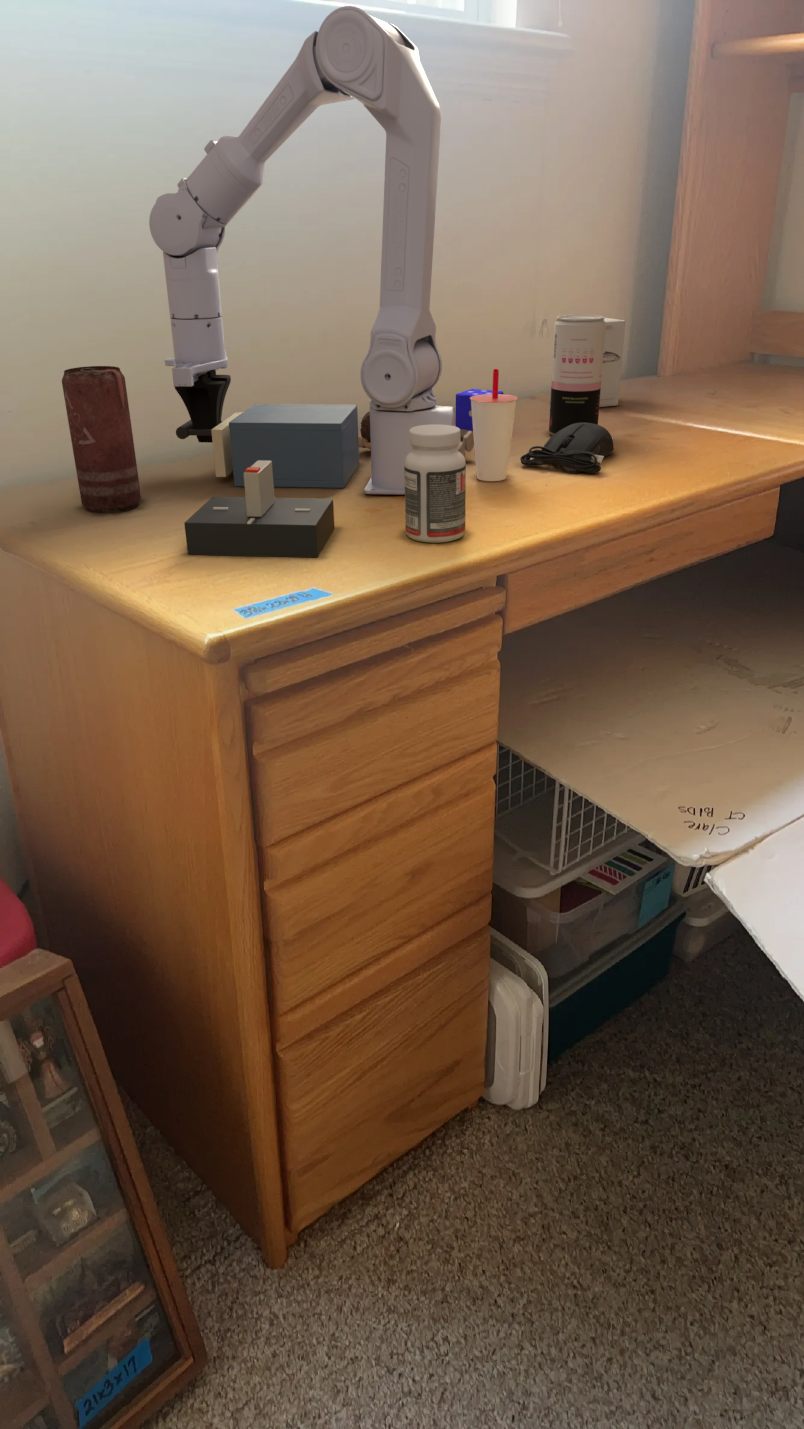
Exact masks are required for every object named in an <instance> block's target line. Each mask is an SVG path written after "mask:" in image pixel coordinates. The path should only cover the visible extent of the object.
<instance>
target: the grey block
mask: <svg viewBox="0 0 804 1429" xmlns="http://www.w3.org/2000/svg"><path fill="white" fill-rule="evenodd" d="M244 485H245V486H244V495H245V496H244V497H246V508H247V516H248V517H262V516H263V515H264V514H265V513H266V512H267V510H268V509H269V508H270V507H271V506H272V505H273V504H274V503H275V499H274V498H275V490H274V489H275V487H274V485H273V471H272V461H264V460H258V461H257V462H255V463H254V464H253V465H252V466H251V467H248V468H247V469H246V470H245V472H244Z"/></svg>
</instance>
